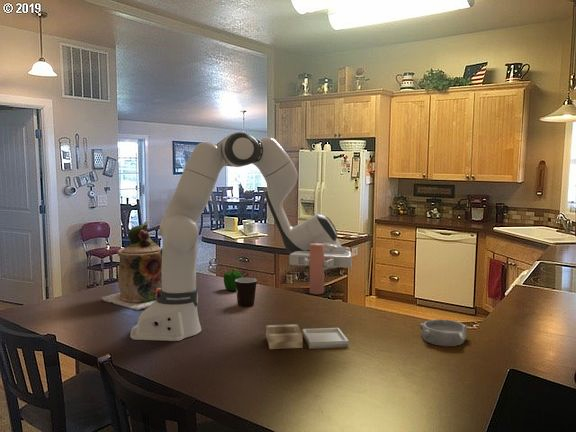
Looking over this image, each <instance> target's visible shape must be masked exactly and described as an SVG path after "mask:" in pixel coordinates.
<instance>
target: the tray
mask: <svg viewBox="0 0 576 432" xmlns="http://www.w3.org/2000/svg"><path fill="white" fill-rule="evenodd" d="M302 334H303V338H304V341H305V343H306V344H307V347H308V349H309V350H310V349H313V350H314V349H330V348H332V349H334V348H335V349H336V348H337V349H338V348H348V347H349V339H348V338H347V336H346V335H345V334H344V333H343V331H342V330H341V329H340V328H339V327H326V328H325V327H321V328H302Z"/></svg>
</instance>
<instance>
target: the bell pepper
mask: <svg viewBox="0 0 576 432" xmlns="http://www.w3.org/2000/svg"><path fill="white" fill-rule="evenodd" d="M237 270H238V269H237V268H233V269H232V271H225V272H224V273H223V284H224V288H225V289H226V290H227V291H230V290H231V291H232V292H233V291H234V292H236V284H235V280H236V279H239V278H243V274H242V273H241V272H240V271H237Z"/></svg>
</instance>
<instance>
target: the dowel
mask: <svg viewBox="0 0 576 432" xmlns="http://www.w3.org/2000/svg"><path fill="white" fill-rule="evenodd" d="M309 251H310V266H309V293H310V294H313V295H321V294H324V293H325V270H324V244H320V243H313V244H310V249H309Z"/></svg>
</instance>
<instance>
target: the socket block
mask: <svg viewBox="0 0 576 432" xmlns="http://www.w3.org/2000/svg"><path fill="white" fill-rule="evenodd" d="M265 335H266V338H265V339H266V341H267V345H268V348H269V350H275V349H276V350H278V349H281V350H282V349H283V350H284V349H300V348H301V349H303V348H304V347H303V343H304V342H303V338H304V337H303V331H302V330H301V329H300V327H299V324H298V323H296V324H294V323H293V324H292V323H291V324H272V325H270V324H267V325H266V333H265Z"/></svg>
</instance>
